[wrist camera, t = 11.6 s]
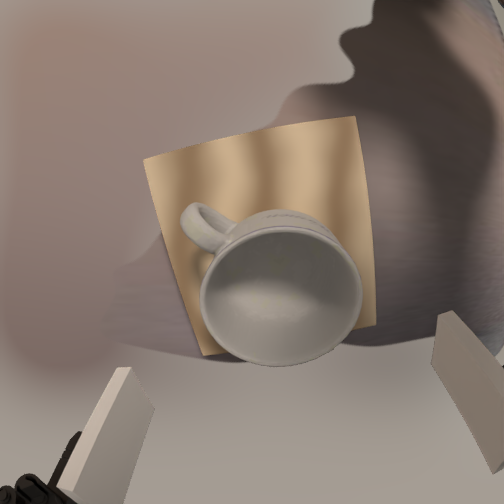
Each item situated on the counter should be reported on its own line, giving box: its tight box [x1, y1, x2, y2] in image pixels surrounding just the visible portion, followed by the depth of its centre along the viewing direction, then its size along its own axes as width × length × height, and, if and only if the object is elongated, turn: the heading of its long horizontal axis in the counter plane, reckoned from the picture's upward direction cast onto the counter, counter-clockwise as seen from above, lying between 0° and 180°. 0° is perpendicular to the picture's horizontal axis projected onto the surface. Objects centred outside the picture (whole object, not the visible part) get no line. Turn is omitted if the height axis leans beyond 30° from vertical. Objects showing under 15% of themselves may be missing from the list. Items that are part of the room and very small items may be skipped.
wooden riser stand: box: [143, 116, 376, 356], centre depth 29 cm, size 18×20×6 cm
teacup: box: [180, 202, 363, 367], centre depth 23 cm, size 14×11×8 cm
